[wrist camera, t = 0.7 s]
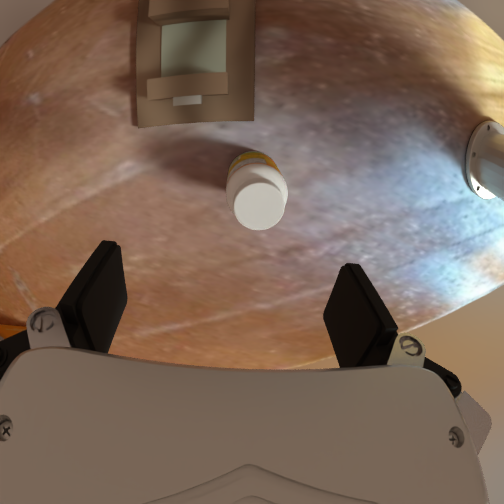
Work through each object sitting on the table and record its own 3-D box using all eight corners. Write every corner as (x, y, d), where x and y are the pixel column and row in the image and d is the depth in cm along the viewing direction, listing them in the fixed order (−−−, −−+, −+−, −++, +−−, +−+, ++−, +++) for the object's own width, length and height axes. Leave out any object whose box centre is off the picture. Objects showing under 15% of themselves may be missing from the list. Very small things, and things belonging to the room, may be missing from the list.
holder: (255, -13, 18) (258, -31, 14) (253, 120, 26) (256, 124, 22) (142, -2, 17) (126, -16, 13) (141, 127, 25) (123, 133, 21)
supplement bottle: (279, 194, 31) (296, 234, 22) (232, 200, 31) (230, 242, 22) (274, 147, 28) (291, 169, 19) (224, 154, 28) (218, 179, 20)
